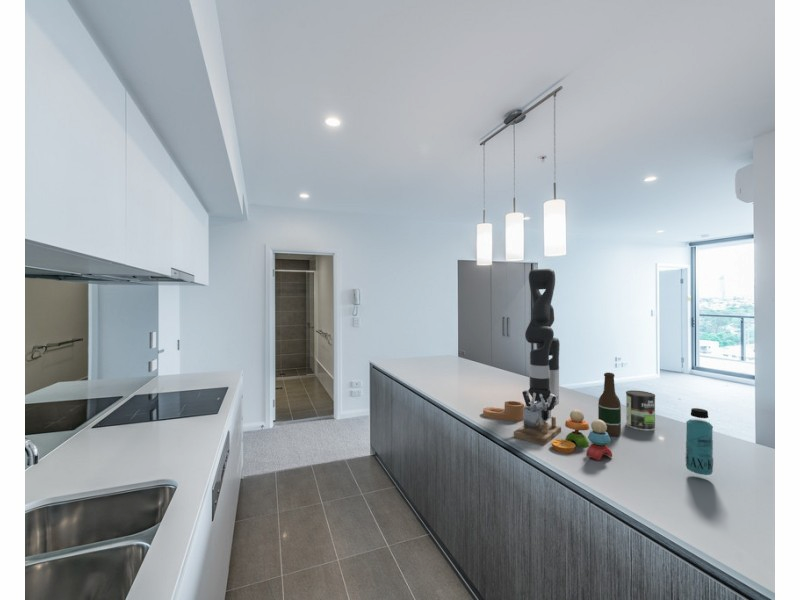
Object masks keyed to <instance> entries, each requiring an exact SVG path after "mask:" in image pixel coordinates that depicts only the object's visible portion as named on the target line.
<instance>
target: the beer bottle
mask: <svg viewBox="0 0 800 600" xmlns="http://www.w3.org/2000/svg"><path fill="white" fill-rule="evenodd" d="M603 376H604V383H603V392H602V394H601V395H600V396H599V398H598V403H597V404H598V411H597V413H598V415H597V416H598V418H597V419H599V420H602V421H604V422H605V424H606V426H607V430H606V432H607V433H608V435H609V437H619V436H620V435H621V432H622V424H621V423H622V419H621V417H622V414H621V413H622V408H621V407H622V406H621V400H620V398H619V396H618V395H617V393H616V388H615V386H616V385H615V377H616V376H615V373H613V372H605V373H604V374H603Z"/></svg>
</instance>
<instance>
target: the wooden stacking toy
mask: <svg viewBox="0 0 800 600" xmlns="http://www.w3.org/2000/svg"><path fill="white" fill-rule="evenodd" d="M584 418H585V415H584V413H583V412H582V411H581V410H579V409H572V411H570V413H569V418H567V419H566V421H565V423H564V426H565V427H566V428H568V429H570V430H573V431H571V432H569V433H568V434H567V435H566V437H565V439H561V438H560V439H559V438H558V439H552V440H550V441H551V442H550V444H551V447H552V449H553V450H554V451H556V452H558V453H562V454H572V453H574V452H575V450H576V449H575V448H576V446H577V447H578V448H581V449H582V448H587V450H586V455H587V457H589V458H591V459H593V460H597V461H600V460H602V458H603V455H605V456H607V457H610V458H612V457H613V453H612V450H611V449H610V448H609V447H608V446H607V445H609V443H610V442H611V438H610V437H611V436H609V435H608V433H607V432H606V430H607V426H606V424H605V422H604V421H602V420H599V419H598V418H597V419H595V420H593V421H592V422H591V426H589V423H588V421H586V420H585V419H584ZM590 427H591V430H590V432H589V433H588V435H587V437H586V436H585V435H584V434H583V432H580V431H588V430H589V429H590ZM572 441H573V442H572ZM589 441H590V442H591V444H589V443H590V442H589Z"/></svg>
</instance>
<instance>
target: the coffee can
mask: <svg viewBox="0 0 800 600" xmlns="http://www.w3.org/2000/svg"><path fill="white" fill-rule="evenodd" d="M625 394H626V398H625V402H626V404H625V405H626V409H625V410H626V413H625V414H626V417H625V418H626V426H627V427H630V428H631V429H634V430H638V431H639V430H640V431H647V432H648V431H654V430H656V394H655V393H652V392H649V391H643V390H635V389H634V390H632V389H631V390H626V391H625Z"/></svg>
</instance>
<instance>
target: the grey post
mask: <svg viewBox="0 0 800 600" xmlns="http://www.w3.org/2000/svg"><path fill="white" fill-rule="evenodd" d="M548 405H549V406H550V403H548ZM551 417H552V410H549V418H548V419H547V420H544V408H543V405H542V402H540V401H539V402H537V403H536V405H534V406H532V407H531V408H530V407H529V408H524V420H523V426H524V427H526V428H529V429H539V428H540V425H541V424H543V422H547V421H549V420H550V419H551Z"/></svg>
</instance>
